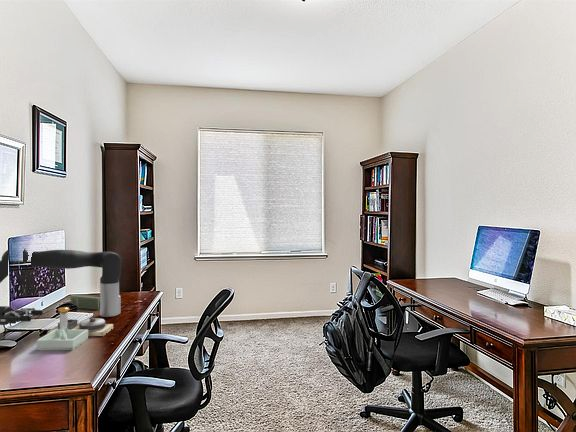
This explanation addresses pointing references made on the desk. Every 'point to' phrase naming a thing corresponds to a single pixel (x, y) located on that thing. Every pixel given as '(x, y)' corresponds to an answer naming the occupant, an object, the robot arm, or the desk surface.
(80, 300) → the handheld radio
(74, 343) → the tray
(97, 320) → the tensioner bracket
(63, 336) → the orange capped tube
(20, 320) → the robot arm
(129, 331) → the desk surface
